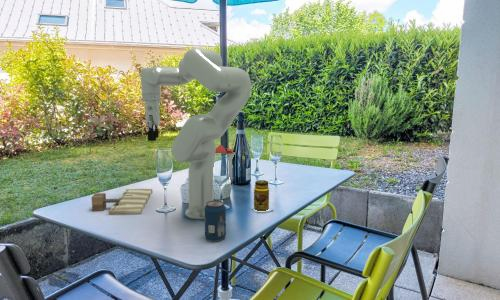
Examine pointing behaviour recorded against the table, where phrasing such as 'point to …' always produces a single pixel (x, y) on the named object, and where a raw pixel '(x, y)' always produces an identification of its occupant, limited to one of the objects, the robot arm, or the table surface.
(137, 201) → the wooden slatted rack
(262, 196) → the condiment
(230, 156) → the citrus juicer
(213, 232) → the soda can
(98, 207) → the marking gauge
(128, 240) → the table surface
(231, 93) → the robot arm
